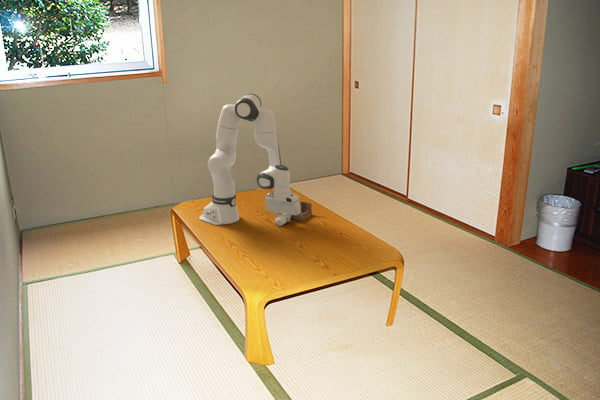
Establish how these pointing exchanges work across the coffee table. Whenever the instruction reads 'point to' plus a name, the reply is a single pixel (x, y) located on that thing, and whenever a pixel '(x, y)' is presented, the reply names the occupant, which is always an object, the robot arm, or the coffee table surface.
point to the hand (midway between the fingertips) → (283, 220)
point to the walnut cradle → (303, 212)
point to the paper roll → (281, 219)
